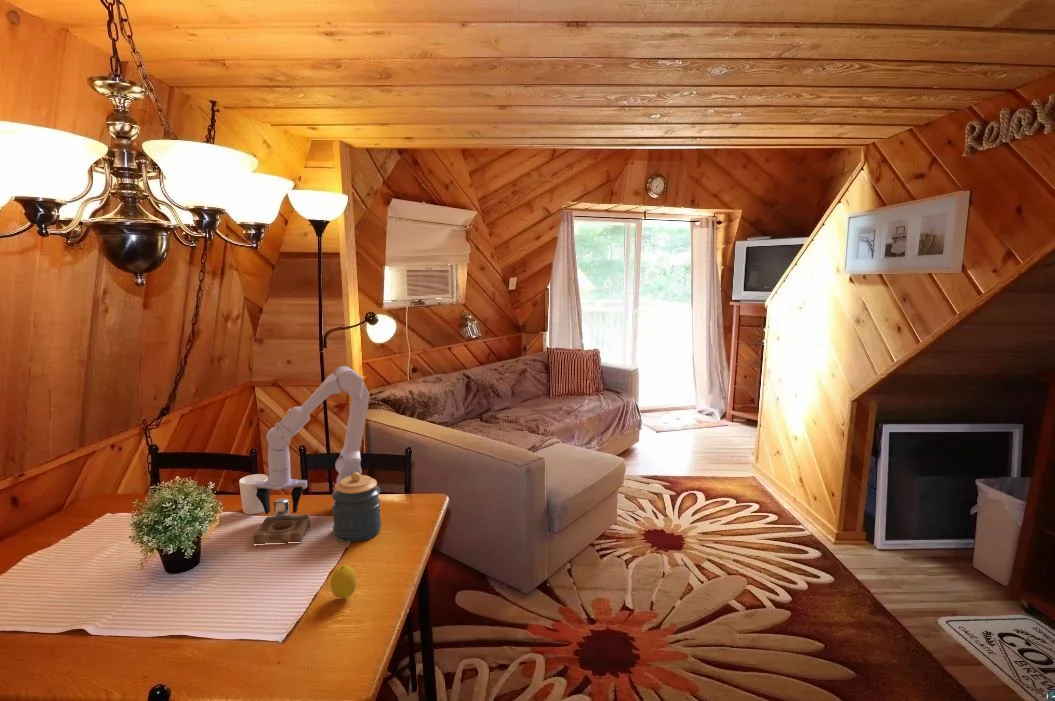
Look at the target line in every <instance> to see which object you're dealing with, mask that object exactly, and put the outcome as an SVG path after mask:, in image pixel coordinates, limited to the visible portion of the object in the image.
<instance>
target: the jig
mask: <svg viewBox="0 0 1055 701" xmlns="http://www.w3.org/2000/svg"><path fill="white" fill-rule="evenodd" d="M310 527H311V518H310V516H309V515H308V514H294V515H293V514H292V515H290V516H275V515H274V516H266V518H264V520H263V521H262V523H261V524H260V525H259V527H258V529H256V531H255V532H254V534H253V535H252V537H253V538H252V540H253V545H254V544H265V543H288V542H301V541H302V539H303V537H304V536H305V537H306V535H307V533H306V532H308V531H309V529H310ZM308 528H309V529H308ZM307 530H308V531H307ZM305 534H306V535H305ZM305 537H304V538H305ZM303 540H304V539H303ZM302 542H303V541H302ZM302 542H301V543H302Z"/></svg>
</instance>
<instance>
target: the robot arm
mask: <svg viewBox="0 0 1055 701" xmlns="http://www.w3.org/2000/svg"><path fill="white" fill-rule="evenodd" d="M341 390H343V391H344V392H346V393H347V394H348V395H349V397H350V398H351V403H350V407H349V413H348V414H349V415H348V420H347V424H346V430H345V435H344V442H343V447H342V449H341V450H340V454H339V456H338V458H337V459H336V461H335V464H334V467H335V470H336V471H337V472H338V475H337V477H336V479H335V480H336V483H335V484H337V483H338V482H339V481H341V480H342V479H343V478H345V477H348V476H351V475H352V474H353V473H354V472H358V473H360V475H363V474H362V473H363V471H362V466H361V462H362V458H361V447H362V441H363V435H364V430H365V424H366V418H367V414H368V408H369V403H370V392H369V390H368V387H367V386H366V384H365V382H364V378H363V377H362V376H361V375H359V373H358V372H357V371H355V370H353V369H352V368H351V367H350V366H346V365H342V366H339V367H337V368H336V369H335V370H334V372H331V373H330V374H329V375H328V376H327V377H326V378H325V380H323V382H322V383H321V384H320V385H319V386H318V387H317V388H316V389H315V390H314V392H312V394H311V395H310V396H309V397H308V398H307V399H306V400H305V401H304V403H303V404H302V405H299V406H294V407H293V408H292V409H291V408H288V410H287V411H286V413H287V414H286V415H285V416H284V417H283V418H282V419H281V420H280V421H279V422H278V421H277V422H275V424H274V426H273V427H271V428H270V429H269V430H268V431H267V432H266V436H265V438H266V442H267V443H268V448H267V451H268V453H267V461H268V462H267V464H268V481H261V482H255V483H254V484H253V491H257V493H256V496H257V497H258V499H259V500H260V501H261V503H262V505H263V508H264V510H265V511H264V513H265V515H268V514H269V513H270V512H271V502H270V501H271V500H270V497H271V496H270V495H271V490H273V491H274V490H275V491H277V490H279V491H280V490H283V489H284V490H285V489H286V490H287V489H289V490H291V489H292V490H291V493H290V494H291V500H292V513H293V514H295V513H297V511H298V510H299V509H298V506H299V502H300V498H301V496H302V493H303V492H304V490H307V489H306V488H308V480H307V479H296V478H295V479H293V478H292V475H291V454H290V453H291V452H290V450H289V448H290V447H289V446H290V445H291V439H292V438H293V437H294V436H296V435H297V433H298V432H300V430H302V428H303V427H305V425H306V424H307V423H308V422H309V421H310V420H311V417H310V416H311V415H310V414H311V413H312V412H313V411H314V410H315V409H317V408H318V407H319V405H321V404H322V403H323V402H324V401H325V400H326V399H327V398H329V397H330V396H331V395H337V394H341V393H342V391H341Z"/></svg>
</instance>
